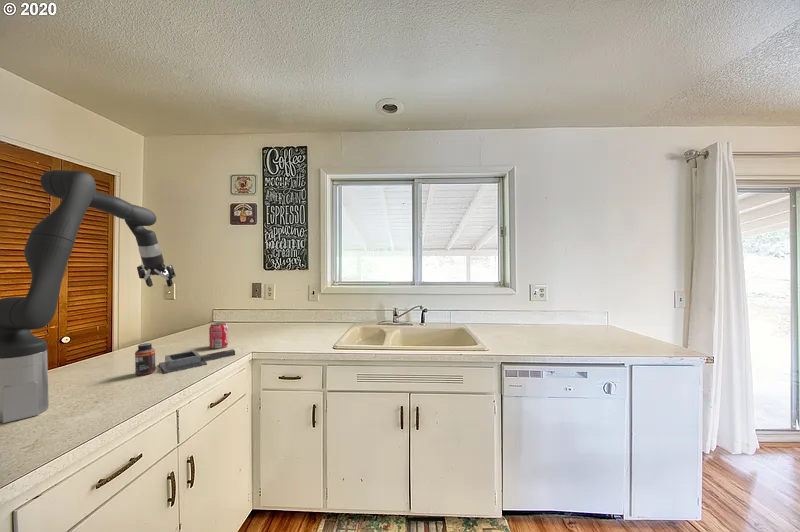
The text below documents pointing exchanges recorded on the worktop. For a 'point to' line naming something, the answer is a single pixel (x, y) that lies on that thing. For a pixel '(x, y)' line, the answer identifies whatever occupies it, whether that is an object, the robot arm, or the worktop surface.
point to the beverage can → (218, 335)
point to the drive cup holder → (190, 360)
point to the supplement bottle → (145, 359)
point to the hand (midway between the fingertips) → (160, 286)
